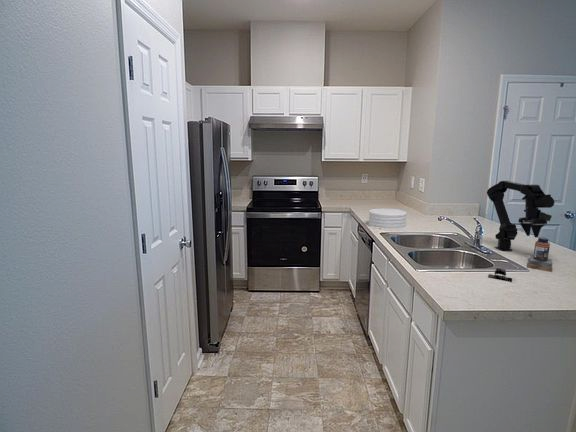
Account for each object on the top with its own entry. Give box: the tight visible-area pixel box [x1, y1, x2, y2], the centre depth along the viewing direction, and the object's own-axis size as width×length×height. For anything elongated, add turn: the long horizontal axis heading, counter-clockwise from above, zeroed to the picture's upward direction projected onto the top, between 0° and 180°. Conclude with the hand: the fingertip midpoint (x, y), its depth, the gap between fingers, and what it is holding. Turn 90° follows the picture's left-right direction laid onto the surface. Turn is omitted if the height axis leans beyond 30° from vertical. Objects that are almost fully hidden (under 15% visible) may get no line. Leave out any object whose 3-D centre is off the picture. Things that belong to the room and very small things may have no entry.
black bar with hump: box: [487, 267, 513, 283], centre depth 154 cm, size 12×7×5 cm, turn 55°
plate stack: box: [368, 207, 408, 229], centre depth 258 cm, size 28×28×12 cm
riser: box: [526, 255, 554, 273], centre depth 168 cm, size 10×10×4 cm
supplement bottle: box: [532, 236, 551, 261], centre depth 166 cm, size 6×6×11 cm
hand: (532, 236), depth 178 cm, fingers open, 9 cm apart
